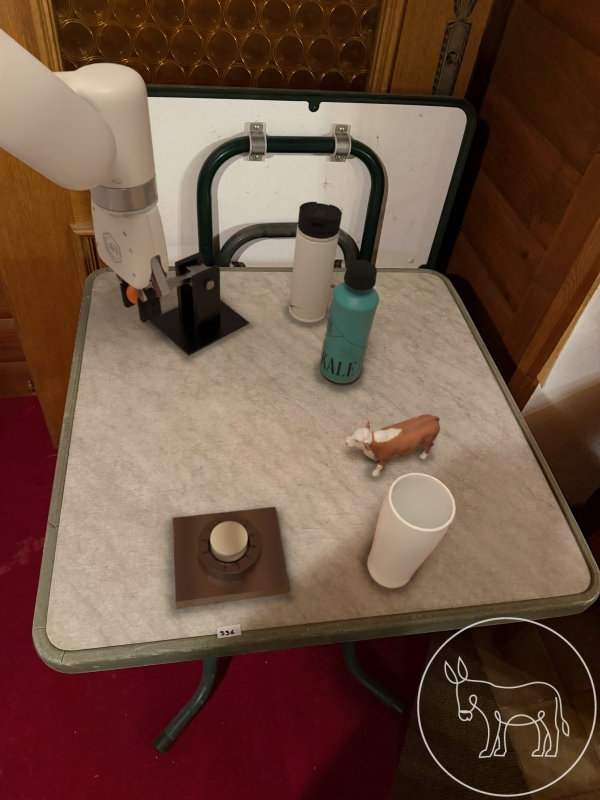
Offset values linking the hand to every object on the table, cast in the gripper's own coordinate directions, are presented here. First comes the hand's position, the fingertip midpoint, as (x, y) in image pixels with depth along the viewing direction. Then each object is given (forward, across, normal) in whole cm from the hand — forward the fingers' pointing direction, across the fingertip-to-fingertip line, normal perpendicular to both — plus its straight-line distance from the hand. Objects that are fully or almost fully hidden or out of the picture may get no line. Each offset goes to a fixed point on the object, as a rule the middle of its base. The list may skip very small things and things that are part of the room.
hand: (142, 309), depth 79 cm
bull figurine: (+9, +37, +12) cm, 40 cm away
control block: (+8, +34, -12) cm, 37 cm away
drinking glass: (+9, +47, +1) cm, 48 cm away
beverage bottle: (+9, +22, +19) cm, 30 cm away
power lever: (-1, 0, +4) cm, 4 cm away
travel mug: (+9, +9, +25) cm, 28 cm away
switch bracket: (+9, 0, +10) cm, 13 cm away
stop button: (+5, +34, -12) cm, 36 cm away
